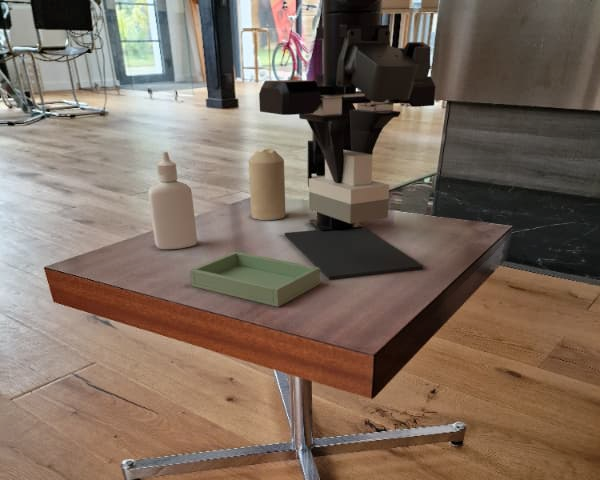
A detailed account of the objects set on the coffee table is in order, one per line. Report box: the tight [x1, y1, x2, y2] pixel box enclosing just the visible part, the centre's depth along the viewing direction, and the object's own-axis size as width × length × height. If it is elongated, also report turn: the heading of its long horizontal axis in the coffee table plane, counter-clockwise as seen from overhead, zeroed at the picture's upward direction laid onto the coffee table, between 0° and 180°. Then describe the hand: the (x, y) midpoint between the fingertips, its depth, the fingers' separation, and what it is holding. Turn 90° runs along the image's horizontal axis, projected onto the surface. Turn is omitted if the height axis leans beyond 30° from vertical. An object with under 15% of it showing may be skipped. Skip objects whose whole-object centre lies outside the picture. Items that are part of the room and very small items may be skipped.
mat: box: [284, 226, 424, 280], centre depth 75 cm, size 20×12×1 cm, turn 16°
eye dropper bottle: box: [147, 151, 198, 251], centre depth 76 cm, size 4×6×12 cm
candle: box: [248, 148, 286, 221], centre depth 90 cm, size 6×6×10 cm
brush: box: [308, 150, 390, 224], centre depth 64 cm, size 9×5×6 cm, turn 29°
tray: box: [189, 251, 321, 308], centre depth 64 cm, size 12×8×2 cm
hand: (347, 181), depth 64 cm, fingers closed on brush, 2 cm apart
